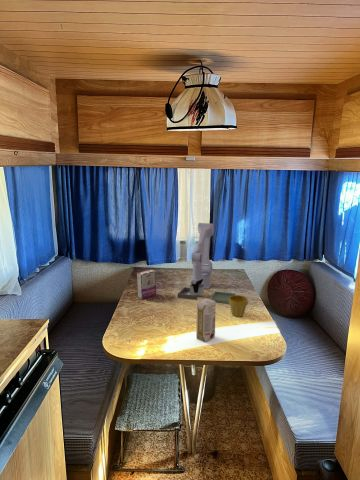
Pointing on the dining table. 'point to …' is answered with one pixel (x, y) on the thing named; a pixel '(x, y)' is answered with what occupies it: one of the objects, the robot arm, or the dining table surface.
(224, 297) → the tray
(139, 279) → the candy bar box
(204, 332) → the juice carton
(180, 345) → the dining table surface
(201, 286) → the grey upright block
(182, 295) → the frame
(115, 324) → the dining table surface
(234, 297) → the plant pot
